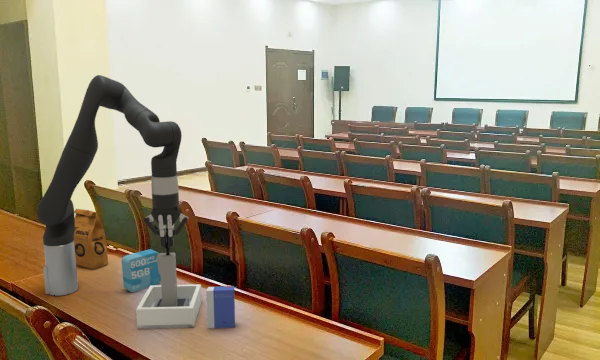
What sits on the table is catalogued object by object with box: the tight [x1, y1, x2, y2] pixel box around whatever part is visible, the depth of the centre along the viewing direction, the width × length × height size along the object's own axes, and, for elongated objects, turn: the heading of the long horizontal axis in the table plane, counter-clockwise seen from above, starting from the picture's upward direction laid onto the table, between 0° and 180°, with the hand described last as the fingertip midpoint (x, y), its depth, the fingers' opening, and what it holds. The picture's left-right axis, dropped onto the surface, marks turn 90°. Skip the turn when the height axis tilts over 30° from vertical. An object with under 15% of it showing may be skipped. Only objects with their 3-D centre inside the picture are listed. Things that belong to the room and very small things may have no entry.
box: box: [135, 283, 202, 330], centre depth 149 cm, size 16×17×6 cm
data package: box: [121, 248, 161, 293], centre depth 169 cm, size 12×4×12 cm, turn 137°
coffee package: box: [74, 208, 109, 270], centre depth 188 cm, size 10×12×22 cm
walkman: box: [205, 284, 236, 329], centre depth 142 cm, size 8×3×12 cm, turn 96°
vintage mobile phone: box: [157, 227, 178, 307], centre depth 147 cm, size 4×5×25 cm
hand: (167, 247), depth 146 cm, fingers closed on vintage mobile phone, 1 cm apart
